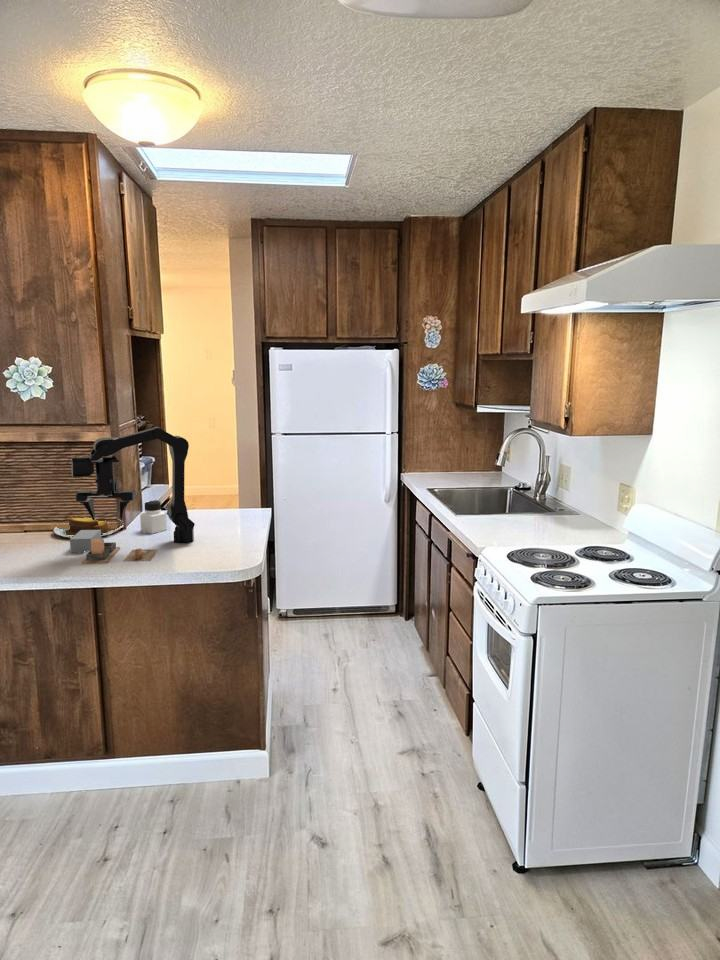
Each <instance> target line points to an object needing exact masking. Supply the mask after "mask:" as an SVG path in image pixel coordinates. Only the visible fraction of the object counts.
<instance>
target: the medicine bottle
mask: <svg viewBox="0 0 720 960" xmlns="http://www.w3.org/2000/svg"><path fill="white" fill-rule="evenodd" d="M161 504H162V503H161V501H160V500H155V499H154V500H153V499H152V500H147V501H145V502H144V512H142V513H139V517H140V521H139V522H140V530H141V531H140V532H145V533H149V534H157V533H161V532H163V531H167V528H168V527H167V525H168V524H167V512H163V511H162V505H161Z"/></svg>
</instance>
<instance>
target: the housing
mask: <svg viewBox="0 0 720 960" xmlns="http://www.w3.org/2000/svg"><path fill="white" fill-rule="evenodd" d="M93 539H102V536H101V530H81V531H79V532H78V533H77V534H76V535H74V536H73V537H72V538H69V546H70V553H71V552H84V551H86V552H87V551H88V552H89V551H90V550H91V541H92V540H93Z"/></svg>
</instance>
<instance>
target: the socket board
mask: <svg viewBox="0 0 720 960" xmlns="http://www.w3.org/2000/svg"><path fill="white" fill-rule="evenodd" d="M120 550H121V547H120V546H117V542H114V541H113V542H104V551H105V552H104V553H103V554H92V552H91V550H90V551H88V552H87V553H86V556H85V558H84V559H83V560H82V561H81V564H82V565H84V564H85V565H87V564H88V565H89V564H92V565H93V564H109V562H111V560H112V559H113V558H114V557H115V555H117V553H118V552H119V551H120Z"/></svg>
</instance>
